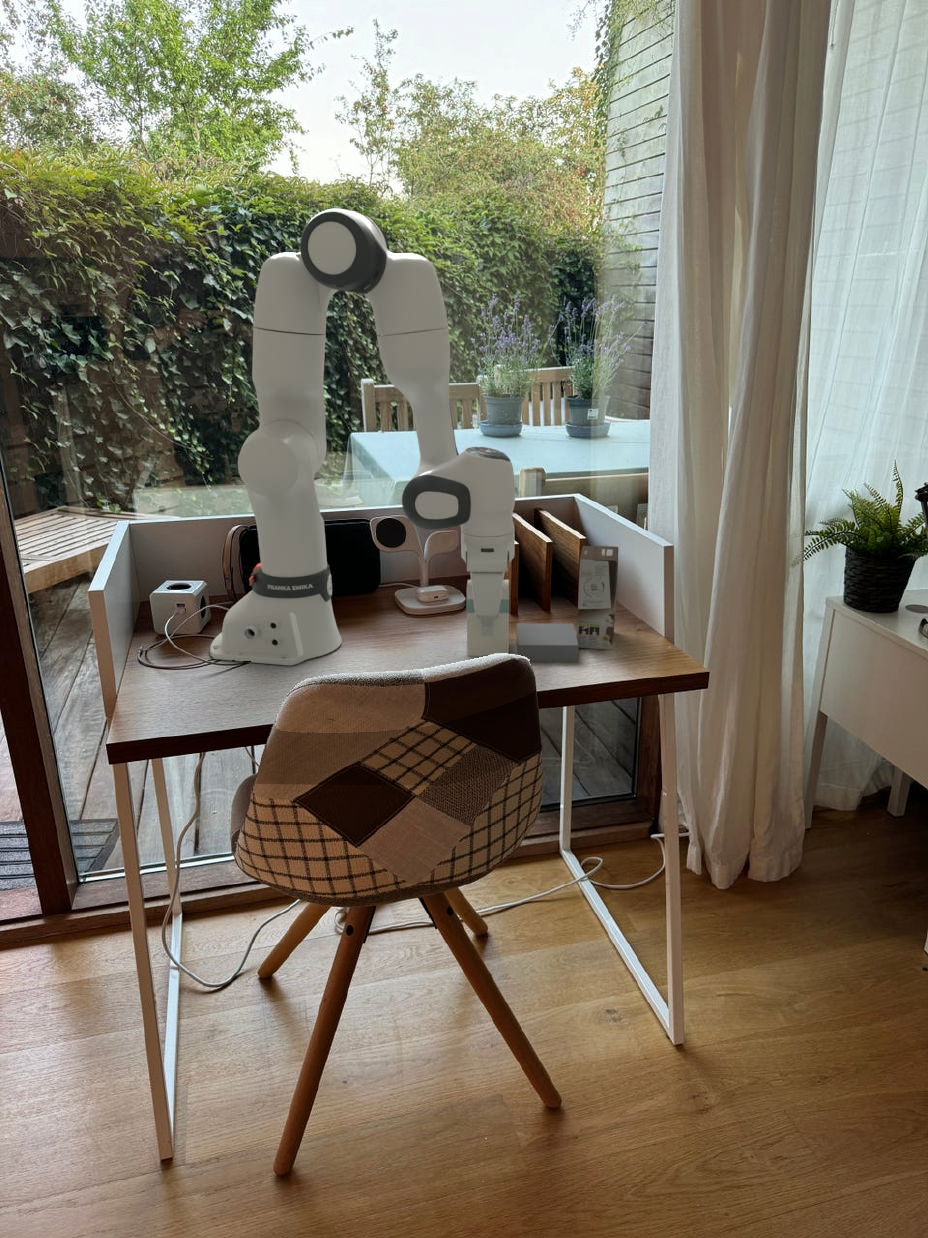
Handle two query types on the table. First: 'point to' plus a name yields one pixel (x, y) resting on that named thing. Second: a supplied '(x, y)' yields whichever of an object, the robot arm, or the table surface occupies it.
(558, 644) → the podium
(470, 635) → the carton
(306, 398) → the robot arm
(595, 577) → the coffee box
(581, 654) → the table surface
